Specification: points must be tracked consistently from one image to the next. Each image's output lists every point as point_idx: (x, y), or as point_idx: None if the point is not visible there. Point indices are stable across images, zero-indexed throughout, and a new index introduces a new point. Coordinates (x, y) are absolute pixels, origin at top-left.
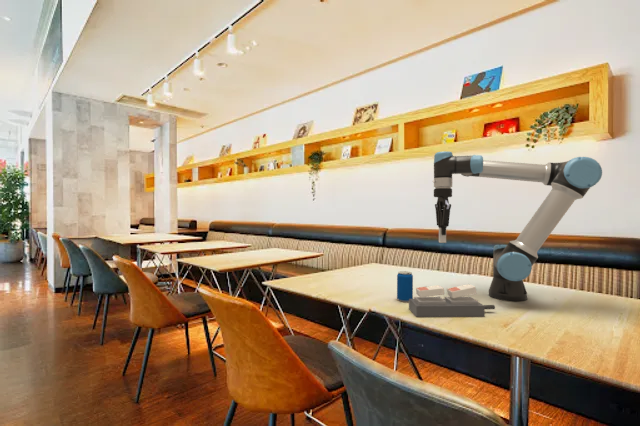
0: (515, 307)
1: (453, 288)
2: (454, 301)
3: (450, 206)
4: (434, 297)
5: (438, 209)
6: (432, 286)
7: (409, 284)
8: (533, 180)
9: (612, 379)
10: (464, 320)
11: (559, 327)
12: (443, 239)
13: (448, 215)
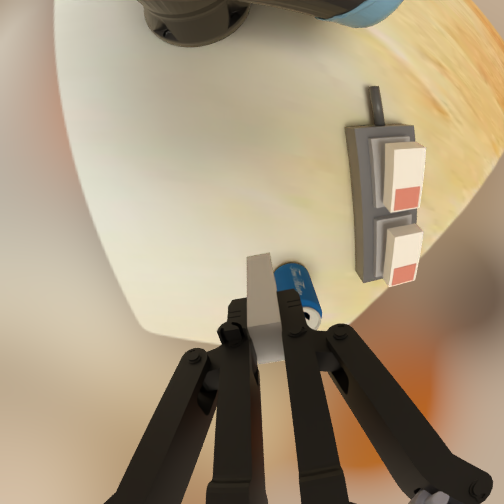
0: (312, 19)
1: (402, 198)
2: None
3: (482, 474)
4: (382, 234)
5: None
6: (397, 253)
7: (315, 294)
8: None
9: None
10: None
11: (430, 22)
12: (274, 279)
13: (409, 409)
